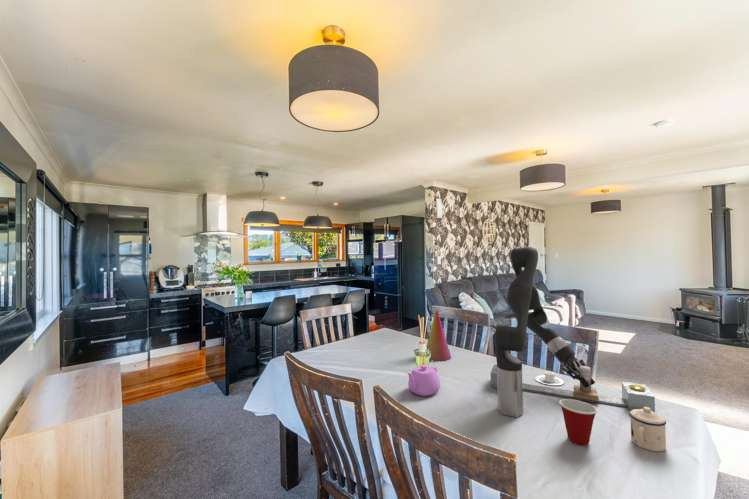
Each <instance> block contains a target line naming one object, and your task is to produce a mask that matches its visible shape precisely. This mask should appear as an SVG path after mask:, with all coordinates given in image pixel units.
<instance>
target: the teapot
mask: <svg viewBox="0 0 749 499" xmlns="http://www.w3.org/2000/svg"><path fill="white" fill-rule="evenodd" d="M406 375H408V383H407V384H408V385H407V387H408V389H409V391H410V392H411V393H413V394H415V395H419V396H422V397H429V396H432V395H435V394H437V393H438V392H439V390H440V389H441V380H440V377H439V374H438V369H437V368H436V367H435V366H428V365H426V364H421V365H420V366H419V365H418V366H416V367H415V368H413V369H412V371H411V372H406Z"/></svg>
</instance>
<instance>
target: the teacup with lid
mask: <svg viewBox="0 0 749 499" xmlns="http://www.w3.org/2000/svg"><path fill="white" fill-rule="evenodd" d="M629 416H630V439H631V441H632V442H633V443H634V445H636V446H638V447H640V448H642V449H644V450H646V451H651V452H664V451H666V450H667V448H666V447H667V446H666V443H667V442H666V441H667V438H666V424H667V421H666V419H665V418H664V416H662V415H660V414H658V413H656V412H655V413H654V412H653V411H651V409H650V408H649V407H643V409H634V410H632V411H629Z"/></svg>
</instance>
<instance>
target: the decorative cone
mask: <svg viewBox="0 0 749 499" xmlns="http://www.w3.org/2000/svg"><path fill="white" fill-rule="evenodd" d="M426 347H427V349H429V350H430V351H431V357H430V360H433V361H432V362H439V361H440V362H447V360H448V361H450V360H452V355H451V351H450V349H449V344H448V342H447V338H446V336H445V331H444V328H443V325H442V321H441V318H440V314H439V311H438V308H437V306H436V307H435V311H434V315H433V319H432V323H431V327H430V331H429V335H428V340H427V344H426ZM430 360H429V361H430Z"/></svg>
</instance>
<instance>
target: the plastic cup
mask: <svg viewBox="0 0 749 499" xmlns="http://www.w3.org/2000/svg"><path fill="white" fill-rule="evenodd" d="M558 402H559V405H560V407H561V411H562V416H563V421H564V425H565V430H566V435H567V438H568V441H569V442H570V443H572V444H574V445H577V446H580V447H586V446H588V445H589V443H590V439H591V435H592V431H593V430H592V429H593V425H594V420H595V416H596V414H597V413H598V408H597V407H595V406H593V404H590V403H587V402H585V401H583V400H578V399H571V398H562V399H560V400H559V401H558Z"/></svg>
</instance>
